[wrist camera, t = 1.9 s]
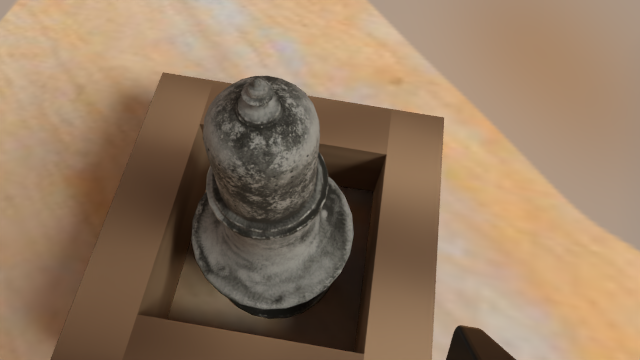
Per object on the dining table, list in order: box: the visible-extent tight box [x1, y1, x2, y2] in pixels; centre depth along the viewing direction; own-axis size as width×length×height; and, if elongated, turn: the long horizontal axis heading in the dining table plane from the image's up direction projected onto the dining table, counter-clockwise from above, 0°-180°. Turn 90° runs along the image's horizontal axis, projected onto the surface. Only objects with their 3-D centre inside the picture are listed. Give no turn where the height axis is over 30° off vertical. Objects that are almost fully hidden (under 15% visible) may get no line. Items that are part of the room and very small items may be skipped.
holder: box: [51, 73, 444, 360], centre depth 19 cm, size 12×12×4 cm
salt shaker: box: [191, 76, 354, 319], centre depth 15 cm, size 6×6×12 cm
